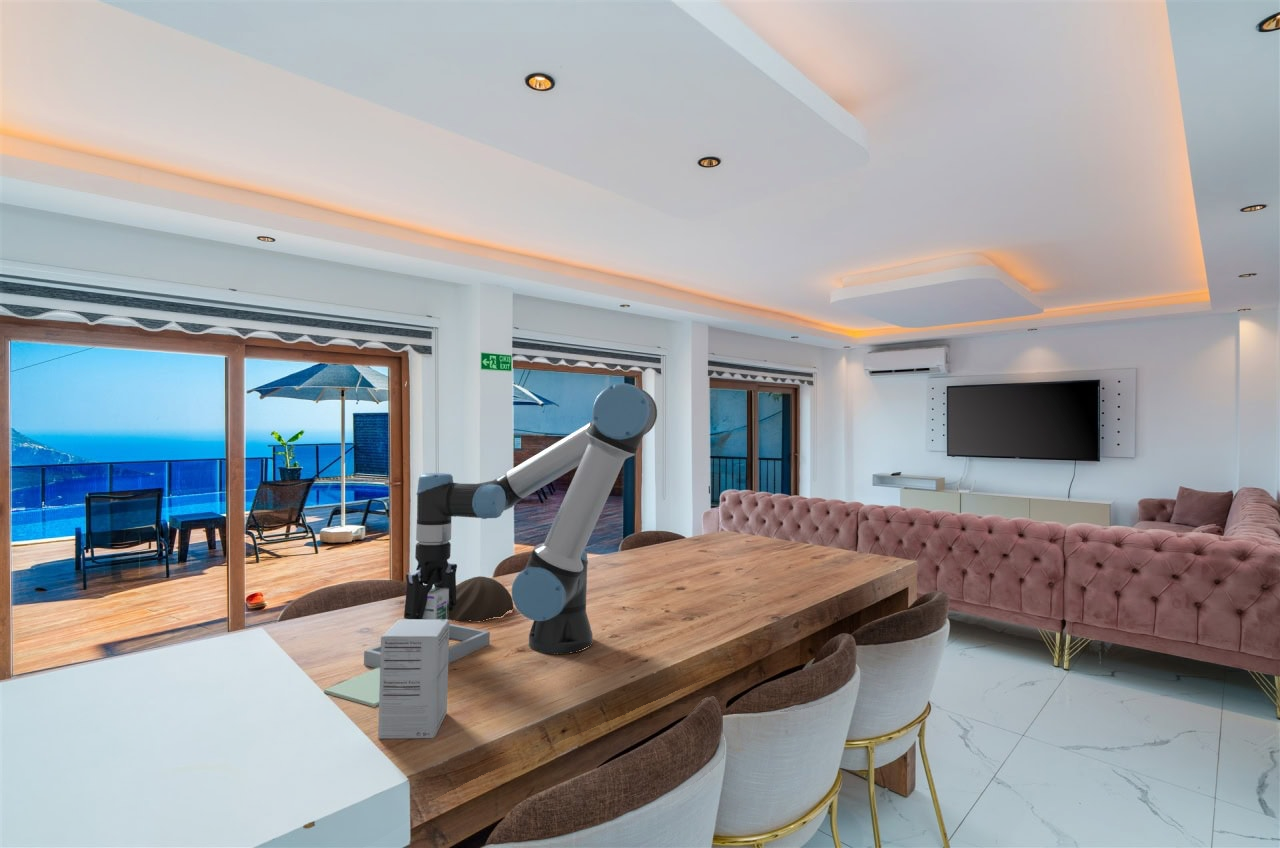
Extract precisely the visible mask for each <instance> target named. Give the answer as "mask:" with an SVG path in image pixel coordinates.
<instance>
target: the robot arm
mask: <svg viewBox="0 0 1280 848" xmlns="http://www.w3.org/2000/svg"><path fill="white" fill-rule="evenodd" d="M657 418H658V408H657V404H656V401H655V400H654V398H653V397H652V396H651V394H650V393H648V392H647V391H646V390H643V389H642V388H640V387H638V386H637V385H633V384H630V383H626V382H625V383H624V382H622V383H621V382H619V383H615V384H612V385H608V386H607V387H605V388H603V390H601V392H599V393H598V395H597V396H596V397H595V399H594V403H593V406H592V418H591V421H590V422H588V423H586V424H585V425H583V426H581V427H580V428H578V429H576V430H575V431H573V432H572V433H570V434H568V435H567V436H564V437H563V438H562V439H560V440H558V441H557V442H555V443H553V444H552V445H550V446H549V447H546V448H544V449H543V450H541V451H540V452H538V453H537V454H535V455H533V456H531V457H529V458H528V459H526V460H525V461H523V462H521V463H520V464H518V465H517V466H515V467H513V468H512V469H510V470H508V471H507V472H505V473H504V474H503V473H502V474H501V475H500V476H498V477H497V478H495V479H493V480H490V481H486V482H479V483H459V482H454V477H453V475H452V474H451V473H444V472H443V473H442V472H436V473H435V472H434V473H432V472H430V473H422V474H421V475H420V476H419V477H418V481H417V492H416V497H417V499H416V501H417V502H416V509H417V510H416V530H415V532H416V533H415V537H416V538H415V540H416V541H417V543H416V544H415V556H414V557H415V560H416V561H417V567H416V569H415V571H414V572H412V573H409V572H407V573H406V574H405V575H406V576H405V578H406V579H405V580H406V592H405V593H406V594H405V601H404V613H403V618H404V619H422V618H423V614H424V610H425V607H426V603H427V597H428V592H429V591H430V590H431V589H432V587H439V588H448V589H449V611H453V609H454V607H452V606H456V586H457V579H456V577H457V576H456V574H457V568H458V565H457V563H450V562H448V560H449V559H450V558H451V550H452V549H451V546H452V545H451V542H450V541H451V539H452V518H453V517H459V518H460V517H461V518H475V519H482V520H486V519H497V518H499V517H501V516H502V514H503V512H504V511H507V510H509V509H511V508H513V506H515V505H516V504H517V503H518V502H520V501H522V500H523V499H525V498H526V497H528V496H530V495H531V494H533V493H534V492H536V491H538V490H540V489H541V488H543V487H545V486H546V485H548V484H550V483H551V482H553V481H555V480H557V479H559V478H561V477H562V476H564V475H565V474H567V473H568V472H570V471H572V470H574V469H576V471H575V474H574V476H573V477H572V480H571V483H570V484H569V487H568V488H567V491H566V494H565V495H564V498H563V500H562V503H561V504H560V507H559V509H558V512H557V513H556V515H555V518H554V520H553V523H552V525H551V527H550V530H549V531H548V533H547V536H546V538H545V540H544V541H543V542H542V543H538V544H537V545H535V546H534V547H533V550H532V552H531V554H530V555H529V558H528V561H527V563H526V565H525V566H524V569H522V570H521V571H520V572H519V573H518V574H517V575H516V577H515V579H514V581H513V584H512V585H511V597H512V600H513V605H514V606H515V608H516V610H517V611H518V612H519V613H520V614H521V615H523V616H524V617H525V618H526V619H529V620H531V621H533V623H532V626H531V628H530V632H529V633H528V634H529V635H528V646H529V648H531V649H532V650H534V651H536V652H539V653H545V654H549V653H551V654H552V655H561V654H560V653H568V654H571V653H570V652H575V653H577V652H576V651H579V650H582V649H584V648H586V647H588V646H590V645H591V643H592V644H593V635H594V634H593V630H592V628H591V623H590V619H589V617H588V613H587V588H588V587H587V583H588V580H587V579H588V564H589V560H588V553H587V550H586V547H587V546H588V545H587V544H588V542H589V540H590V538H591V535H592V533H593V531H594V529H595V527H596V524H597V522H598V520H599V518H600V516H601V513H602V511H603V509H604V507H605V504H606V502H607V501H608V499H609V495H610V494H611V491H612V489H613V487H614V485H615V482H616V480H617V478H618V477H619V476H618V475H619V474H620V471H621V469H622V467H623V465H624V463H625V461H626V459H628V458H630V457H633V456H635V455H636V453H637V451H638V449H639V447H640V444H641V443H642V441H643V437H644V436H645V435H646V434H649V432H650V431H651V430H653V428H654V425H655V424H656V421H657ZM450 599H451V600H450ZM417 613H418V615H417ZM448 620H450V618H449V614H448ZM591 646H592V645H591ZM591 646H590V647H591ZM554 653H555V654H554ZM557 653H558V654H557ZM551 654H550V655H551Z"/></svg>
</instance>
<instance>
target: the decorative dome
mask: <svg viewBox="0 0 1280 848" xmlns="http://www.w3.org/2000/svg"><path fill="white" fill-rule="evenodd" d="M450 600H451V599H450ZM452 607H454V609H453V611H449V619H450V618H451V620H453V621H454V620H455V622H456V621H460V622H469V621H468V620H471V621H470V622H473V621H483V620H486V619H489V618H493V617H501V616H503V615H504V614H505V613H506V612H507V611H509V610H512V609H513V610H514V601H513V599H512V594H511V592H509V590H508V589H507V588H506V587H505V586H504V585H503V584H501V583H500V582H499V581H497V580H496V579H493V578H491V577H486V576H481V575H480V576H475V577H474V576H473V577H470V578H468V579H465V580H464V581H461V582H459V583H458V584H456V606H452ZM483 622H484V621H483Z"/></svg>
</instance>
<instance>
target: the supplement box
mask: <svg viewBox="0 0 1280 848" xmlns="http://www.w3.org/2000/svg"><path fill="white" fill-rule="evenodd" d="M450 624H451V623H450V619H449V620H424V619H405V618H404V619H398V620H397V621H396V622H395V623H394V624H392V626H391V627H390V628H389V629H388V630H386V632H385V633H384V634H383V635H382V636H380V645H381V657H380V691H379V705H378V724H377V725H378V728H377V729H378V730H377V731H378V732H377V733H378V734H377V739H378V740H380V739H381V740H385V739H387V740H389V739H390V740H392V739H393V740H394V739H396V740H397V739H402V740H403V739H434V738H435V737H436V736H437V733H438V732H439V730H440V727H441V725H442V723H443V721H444V720H445V717H446V715H447V713H448V712H447V711H448V687H449V685H448V683H449V681H448V680H449V663H448V654H449V647H450V646H449V645H450V638H449V626H450Z"/></svg>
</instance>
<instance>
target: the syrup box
mask: <svg viewBox="0 0 1280 848" xmlns="http://www.w3.org/2000/svg"><path fill="white" fill-rule="evenodd" d="M448 614H449V589H448V588H439V587H435V586H433V587H432V589H431V590H430V591H429V592H428V597H427V603H426V607H425V610H424V614H423V618H422V619H424V620H448ZM417 615H418V613H417Z"/></svg>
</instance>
